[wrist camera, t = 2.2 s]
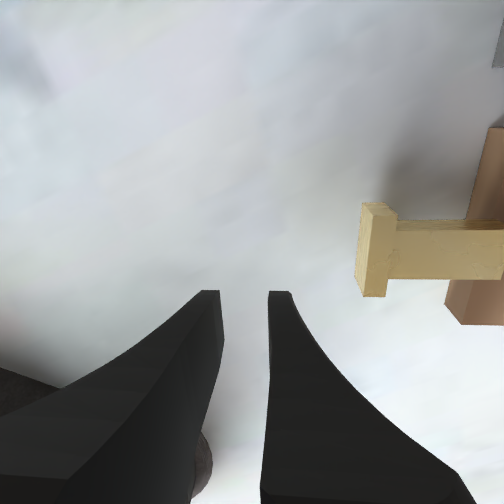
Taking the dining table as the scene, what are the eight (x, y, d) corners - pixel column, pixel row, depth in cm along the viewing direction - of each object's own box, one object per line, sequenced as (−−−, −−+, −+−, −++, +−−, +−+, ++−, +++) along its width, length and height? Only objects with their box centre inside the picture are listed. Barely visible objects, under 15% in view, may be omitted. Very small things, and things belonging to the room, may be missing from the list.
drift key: (497, 200, 14) (528, 213, 12) (475, 276, 16) (499, 298, 14) (362, 202, 15) (373, 215, 13) (354, 276, 17) (363, 296, 15)
